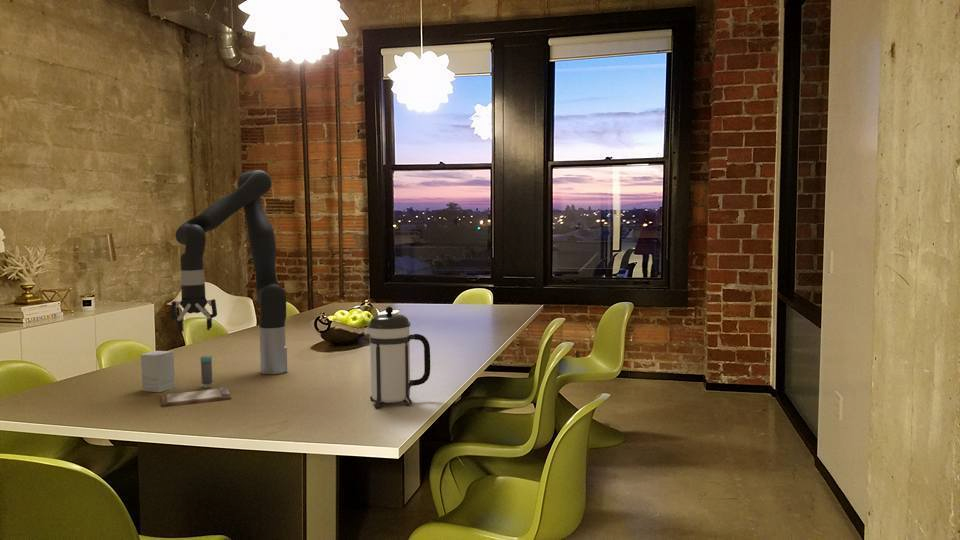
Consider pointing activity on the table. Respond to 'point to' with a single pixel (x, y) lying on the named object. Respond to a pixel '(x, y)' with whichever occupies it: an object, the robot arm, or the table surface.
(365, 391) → the table surface
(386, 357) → the coffee press
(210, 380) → the marker
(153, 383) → the supplement box
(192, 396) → the writing board
